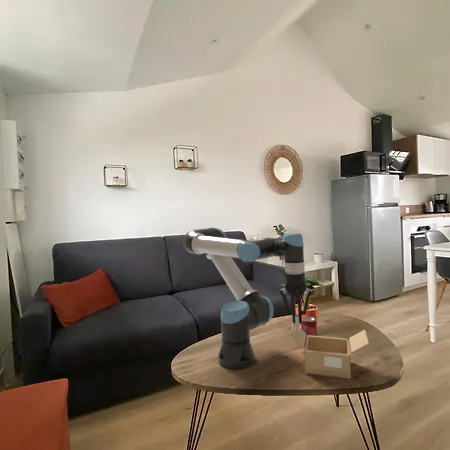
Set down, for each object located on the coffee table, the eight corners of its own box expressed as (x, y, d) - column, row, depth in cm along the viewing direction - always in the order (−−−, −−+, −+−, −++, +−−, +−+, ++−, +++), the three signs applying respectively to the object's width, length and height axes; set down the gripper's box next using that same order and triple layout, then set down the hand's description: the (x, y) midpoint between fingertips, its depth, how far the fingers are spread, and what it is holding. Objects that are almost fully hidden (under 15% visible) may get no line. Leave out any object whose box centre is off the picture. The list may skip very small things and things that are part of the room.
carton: (305, 374, 119) (304, 351, 118) (307, 356, 133) (307, 335, 133) (350, 380, 114) (350, 356, 113) (348, 360, 128) (348, 338, 128)
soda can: (317, 348, 140) (317, 321, 139) (301, 347, 141) (301, 321, 141) (316, 342, 147) (315, 316, 146) (301, 341, 148) (300, 316, 147)
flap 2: (368, 343, 112) (369, 344, 112) (364, 329, 124) (365, 330, 124) (351, 352, 114) (352, 353, 114) (349, 338, 126) (349, 339, 126)
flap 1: (294, 321, 133) (293, 322, 133) (290, 333, 120) (289, 334, 121) (306, 334, 132) (305, 334, 132) (304, 347, 119) (303, 348, 119)
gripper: (277, 274, 124) (280, 333, 125) (311, 274, 119) (314, 336, 121) (280, 270, 131) (283, 326, 132) (312, 270, 127) (315, 328, 128)
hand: (297, 331), depth 126 cm, fingers closed
